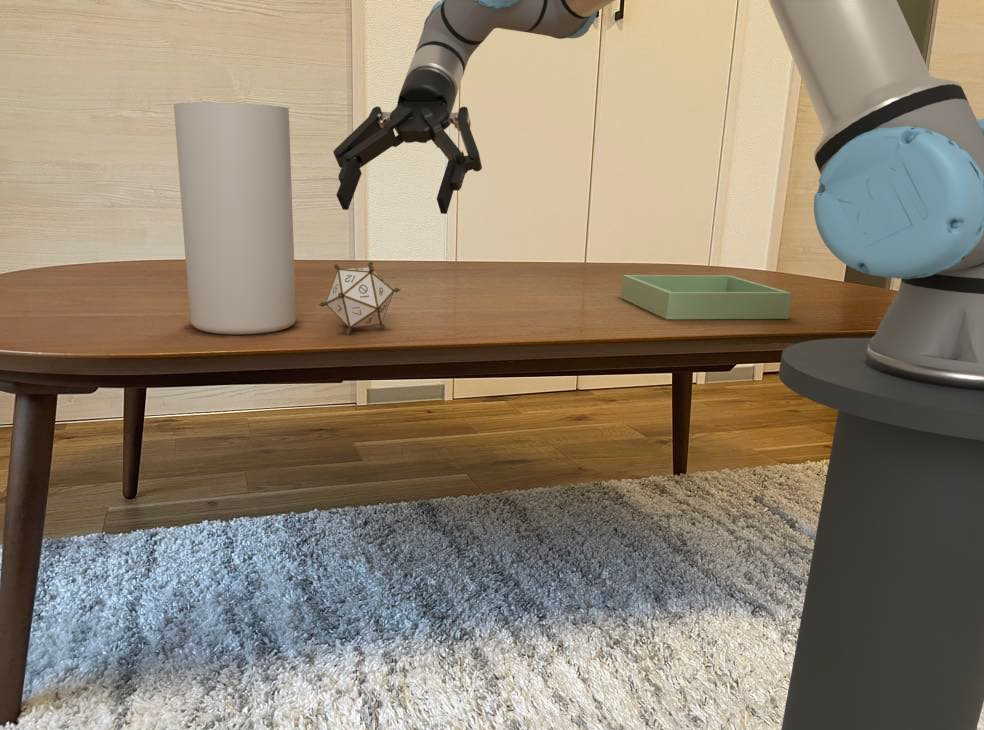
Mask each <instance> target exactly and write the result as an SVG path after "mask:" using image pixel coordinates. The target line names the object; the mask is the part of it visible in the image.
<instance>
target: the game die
mask: <svg viewBox="0 0 984 730" xmlns="http://www.w3.org/2000/svg"><path fill="white" fill-rule="evenodd" d="M332 264H333V268H334V270H336V273H335V276H334V278H333V282H332V285H331V287H330V290H329V292H328V295H327V298H326V301H321V302H320V303H318V306H320V307H325V306H327V307H328V309H330V310H331V311H332V312H333V314H335V315H336V317H338V319H340V321H342V323H344V325H346V326H347V328H346V330H345V331H346V334H347V335H349V334H350V333H352V329H356V328H363V327H372V326H379V327H380V328H381V329H382V330H386V325H385V324H384V323H383V322H384V319H385V316H386V314H387V311H388V308H389V305H390V303H391V300H392V297H393V295H394V293H399V292H400V291H401V290H402V289H401V288H399V287H395V288H394V289H393V288H392V286H391V285H389V283H388V282H386V280H384V278H382V277H381V276H380V275H379V273H378V272H376V271H375V267H374V266H373V265H374V263H373V260H370V261H369V262H368V264H367V266H360V267H359V266H358V267H345V268H340V267H339V265H338V263H337V264H336V263H332Z"/></svg>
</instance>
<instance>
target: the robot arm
mask: <svg viewBox="0 0 984 730" xmlns="http://www.w3.org/2000/svg"><path fill="white" fill-rule="evenodd" d="M615 1H616V0H438V1H436V3H435V4H433V6H432V7H431V10H430V12H429V13H428V15H427V16H426V18H425V20H424V25H423V29H422V31H421V36H420V37H419V40H418V43H417V47H416V48H415V52H414V54H413V57H412V59H411V62H410V65H409V67H408V70H407V72H406V75H405V79H404V81H403V83H402V87H401V89H400V93H399V95H398V98H397V99H398V100H397V104H396V107H394V109H393V110H391V112H388V111H383V110H382V108H381V106H378V105H376V106H374V107H373V108H372V109H371V111H370V112H369V115H368V117H366V118H365V120H364V121H362V123H361V124H360V125H359V126H357V127H356V128H355V130H353V131H352V132H351V133H350V134H349V135H348V136H347V137H346V138H345V139H344V140H343V141H342V142H340V143H339V145H338V146H336V147H335V149H334V150H333V155H334V158H335V160H336V163H337V164H338V167H339V168H340V171H339V173H338V176H337V177H338V181H339V183H340V184H339V186H338V190H337V192H336V198H337V200H338V201H339V204H340V207H341V209H342V210H343V211H348V210H349V209H350V206H351V203H352V200H353V198H354V195H355V192H356V189H357V187H358V184H359V182H360V180H361V176H362V173H363V172H362V170H361V168H363V167H364V166H365V165H367V164H369V163H370V162H371V161H373V160H374V159H376V158H378V157H379V156H380V155H382V154H383V153H385V152H386V151H387V150H389V149H391V148H392V147H394V148H397V147H398V146H400V145H401V144H403V143H405V144H408V143H409V144H410V143H411V144H412V143H420V144H427V143H428V142H429V141H432V142H433V144H434V145H435V147H436V148H437V149H438V148H439V150H440V151H441V152H442V154H443V155H444V156H445V157H446V159H447V162H446V163H447V164H446V166H445V170H444V173H443V177H442V180H441V183H440V186H439V189H438V193H437V197H436V202H437V205H438V209H439V211H440V214H441V215H447V214H448V211H449V208H450V204H451V200H452V197H453V194H454V191H460V190H462V187H463V183H464V179H465V176H466V174H467V173H468V172H469V171H472V170H473V171H474V172H480V171H481V170H482V168H483V165H482V160H481V156H480V152H479V149H478V147H477V145H476V141H475V138H474V135H473V132H472V130H471V126H472V125H471V119H470V114H469V108H468V107H467V106H461V107H460V108H458V112H453V109H454V106H455V102H456V98H457V95H458V92H459V89H460V86H461V84H462V80H463V77H464V74H465V71H466V68H467V66H468V63H469V60H470V58H471V56H472V55H473V53H474V52H475V51H476V50H477V49H478V47H480V45H481V44H482V43H483V42H484V41H485V40H486V39H487V38H488V36H489V35H490V34H491V33H492V31H494V30H495V29H502V30H509V31H515V32H520V33H527V34H535V35H540V36H544V37H545V36H546V37H551V38H554V39H558V40H563V39H578V38H581V37H582V36H584V35H586V34H587V33H588V32H589V29H590V28H591V26H592V25H593V24H594V23H595V20H596V17H597V14H598V12H599V11H601V10H602V9H603V8H605V7H607V6H609V5H610V4H611V3H613V2H615ZM768 2H769V5H770V7H771V9H772V12H773V14H774V17H775V19H776V21H777V24H778V26H779V29H780V30H781V34H782V35H783V38H784V40H785V42H786V45H787V47H788V50H789V53H790V55H791V56H792V59H793V62H794V65H795V66H796V69H797V71H798V73H799V76H800V78H801V80H802V83H803V85H804V88H805V90H806V92H807V94H808V95H807V96H808V97H809V100H810V102H811V104H812V106H813V108H814V111H815V114H816V116H817V118H818V121H819V123H820V126H821V128H822V130H823V134H822V135H821V137H820V139H819V142H818V144H817V146H816V148H815V150H814V152H813V158H814V162H815V165H816V166H817V170H818V171H819V172H818V173H819V174H820V176H819V179H818V182H819V185H818V190H817V192H815V194H814V197H813V215H814V221H815V225H816V229H817V232H818V233H819V236H820V238H821V240H822V242H823V243H824V245H825V246H826V248H827V249H828V250H829V252H831V253H832V254H833V256H835V258H836V259H838V260H839V261H841V262H842V263H843V264H845V265H846V266H848V267H849V268H851V269H853V270H856V271H858V272H860V273H864V274H865V275H870V276H875V277H883V278H891V279H899V280H900V284H899V288H898V291H897V293H896V295H895V297H893V300H892V302H891V304H890V305H889V308H888V309H887V310H886V313H885V314H884V316H883V318H882V320H881V322H880V323H879V326H878V328H877V330H876V332H875V334H874V335H872V337H870V338H871V340H870V343H869V345H868V348H867V354H866V359H865V362H866V363H867V365H869V366H870V367H872V368H873V369H875V370H878V371H880V372H883V373H885V374H889V375H892V376H895V377H899V378H903V379H906V380H911V381H915V382H920V383H925V384H930V385H936V386H943V387H949V388H957V389H965V390H975V391H984V118H977V117H976V115H975V113H974V111H973V109H972V107H971V105H970V102H969V100H968V98H967V95H966V93H965V92H964V91H965V90H964V89H963V86H962V85H961V84H960V82H958V81H954V80H949V79H946V78H945V79H944V78H940V77H934V76H933V75H932V74H931V73H930V71H929V68H928V67H927V64H926V62H925V60H924V58H923V55H922V53H921V51H920V48H919V47H918V45H917V42H916V40H915V37H914V36H913V35H914V34H912V31H911V29H910V26H909V24H908V22H907V20H906V18H905V16H904V13H903V11H902V9H901V7H900V4H899V2H898V1H897V0H768ZM451 124H452V125H453V126H454V128H455V129H457V131H458V132H460V137H461V139H462V143H463V145H464V148H465V151H466V153H467V155H465V152H464V150H460V148H459V147H458V146H457V145H456V143H455V142H454V141H453V140H452V138H451V137H450V136H449V135H448V134H447V132H446V129H448V128H449V127H450V126H451ZM395 132H396V134H397V135H396V134H395Z"/></svg>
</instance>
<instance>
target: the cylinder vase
mask: <svg viewBox="0 0 984 730" xmlns="http://www.w3.org/2000/svg"><path fill="white" fill-rule="evenodd" d="M173 111H174V125H175V138H176V140H175V141H176V153H177V165H178V178H179V191H180V203H181V205H180V206H181V216H182V229H183V241H184V242H183V243H184V244H183V245H184V256H185V269H186V270H185V271H186V283H187V295H188V296H187V297H188V309H189V310H188V311H189V320H190V324H191V325H192V327H194V328H195V329H196V330H199V331H202V332H205V333H209V334H216V335H233V336H235V335H238V336H239V335H240V336H243V335H260V334H269V333H274V332H279V331H283V330H285V329H289V328H290V327H292V326H293V325H294V324H295V322H296V320H297V303H296V302H297V301H296V275H295V273H296V272H295V247H294V246H295V245H294V218H293V214H294V213H293V191H292V190H293V188H292V163H291V162H292V161H291V159H292V158H291V137H290V136H291V134H290V133H291V132H290V131H291V130H290V108H289V107H286V106H285V107H284V106H279V105H268V104H255V103H254V104H253V103H239V102H238V103H237V102H207V101H206V102H205V101H204V102H201V101H200V102H199V101H198V102H197V101H196V102H177V103H174V104H173Z"/></svg>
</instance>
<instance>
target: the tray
mask: <svg viewBox="0 0 984 730" xmlns="http://www.w3.org/2000/svg"><path fill="white" fill-rule="evenodd" d="M621 287H622V288H621V299H622V300H624V301H627V302H629V303H631V304H633V305H635V306H637V307H639V308H641V309H644V310H646V311H648V312H650V313H652V314H653V315H654V314H655V315H656V316H658V317H660V318H663V319H664V320H788V319H789V317H790V310H791V304H792V297H793V292H790V291H786V290H783V289H779V288H776V287H772V286H768V285H765V284H762V283H758V282H755V281H751V280H748V279H744V278H742V277H741V278H740V277H738V276H733V275H729V274H727V275H726V274H725V275H723V274H720V275H719V274H718V275H717V274H716V275H715V274H714V275H712V274H711V275H710V274H709V275H708V274H707V275H706V274H705V275H702V274H701V275H699V274H697V275H695V274H693V275H692V274H691V275H690V274H689V275H688V274H686V275H685V274H679V275H678V274H624V275H622V286H621Z"/></svg>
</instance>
